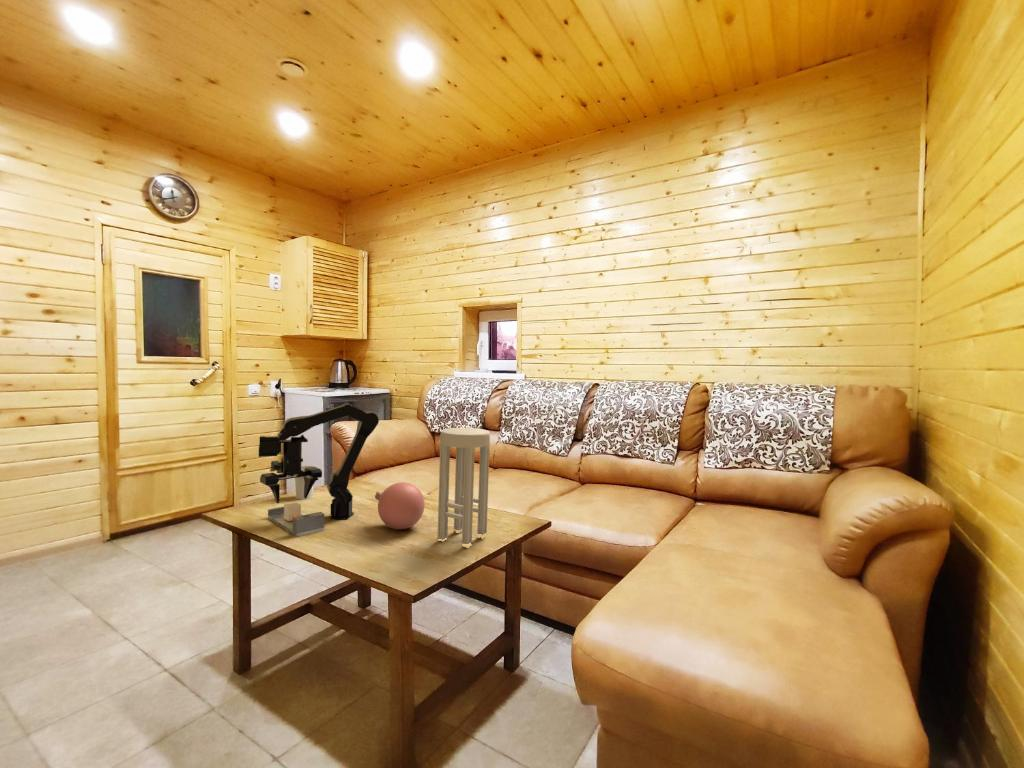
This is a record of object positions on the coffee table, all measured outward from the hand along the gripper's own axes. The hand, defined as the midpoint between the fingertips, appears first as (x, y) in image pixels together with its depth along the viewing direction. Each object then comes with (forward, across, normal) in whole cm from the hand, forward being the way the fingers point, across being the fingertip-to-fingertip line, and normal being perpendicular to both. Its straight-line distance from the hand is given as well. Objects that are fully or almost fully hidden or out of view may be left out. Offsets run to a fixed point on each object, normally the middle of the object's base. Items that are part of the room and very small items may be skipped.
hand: (291, 500), depth 163 cm
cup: (+8, -16, -26) cm, 31 cm away
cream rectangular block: (+6, 0, +3) cm, 7 cm away
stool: (+8, -34, +50) cm, 61 cm away
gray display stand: (+8, 0, +3) cm, 8 cm away
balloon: (+8, -24, +27) cm, 37 cm away
